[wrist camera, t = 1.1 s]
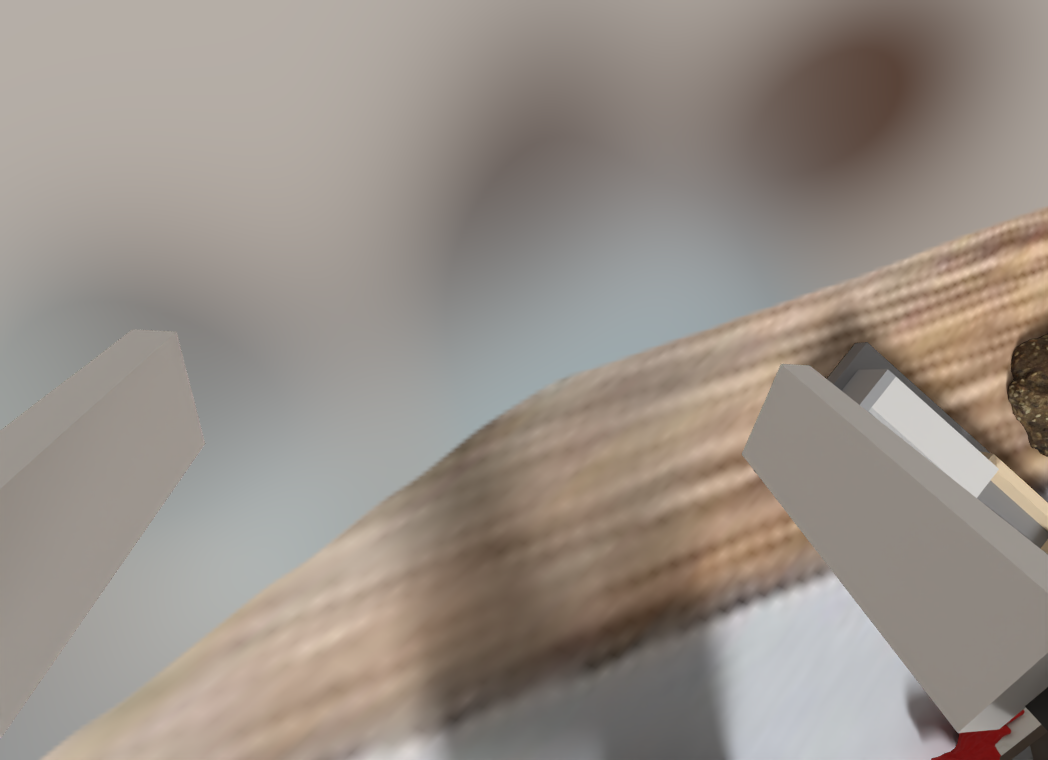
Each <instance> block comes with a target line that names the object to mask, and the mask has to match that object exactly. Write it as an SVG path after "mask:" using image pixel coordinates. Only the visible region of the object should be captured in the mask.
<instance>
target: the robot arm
mask: <svg viewBox="0 0 1048 760" xmlns="http://www.w3.org/2000/svg"><path fill="white" fill-rule="evenodd" d="M204 445H205V441H204V437H203V433H202V430H201V426H200V421H199V418H198V414H197V410H196V406H195V402H194V398H193V394H192V390H191V387H190V382H189V379H188V375H187V371H186V367H185V363H184V359H183V355H182V351H181V347H180V343H179V340H178V336H177V332H172V331H171V332H170V331H153V330H131V331H130V332H129V333H127V334H126V335H125V336H124V337H122V338H121V339H120V340H118V341H117V342H116V343H114V344H113V345H112V346H110V347H109V348H108V349H106V350H105V351H104V352H103V353H101V354H100V355H99V356H97V357H96V358H95V359H93V360H92V361H91V362H89V363H88V364H87V365H86V366H84V367H83V368H82V369H80V370H79V371H78V372H76V373H75V374H74V375H72V376H71V377H70V378H68V379H67V380H66V381H64V383H62V384H61V385H59V386H58V387H57V388H55V389H54V390H53V391H51V392H50V393H49V394H47V395H46V396H45V397H44V398H42V399H41V400H40V401H38V402H37V403H36V404H34V405H33V406H32V407H30V408H29V409H28V410H27V411H25V412H24V413H23V414H21V415H20V416H19V417H17V418H16V419H15V420H13V421H12V422H11V423H10V424H8V425H7V426H5V427H4V428H3V429H2V430H0V739H1V737H2V736H3V735H4V733H5V731H6V730H7V729H8V727H9V726H10V724H11V723H12V722H13V720H14V719H15V717H16V716H17V714H18V713H19V711H20V710H21V709H22V707H23V706H24V704H25V703H26V701H27V700H28V699H29V697H30V696H31V694H32V693H33V691H34V690H35V688H36V687H37V685H38V684H39V683H40V681H41V680H42V678H43V677H44V675H45V674H46V673H47V671H48V670H49V668H50V667H51V665H52V664H53V662H54V661H55V659H56V658H57V656H58V655H59V654H60V652H61V651H62V649H63V648H64V647H65V645H66V644H67V642H68V641H69V639H70V638H71V637H72V635H73V633H74V632H75V631H76V629H77V628H78V626H79V625H80V624H81V622H82V621H83V619H84V618H85V616H86V615H87V613H88V612H89V611H90V609H91V608H92V606H93V605H94V603H95V602H96V600H97V599H98V598H99V596H100V594H101V593H102V592H103V590H104V589H105V587H106V586H107V584H108V583H109V582H110V580H111V579H112V577H113V576H114V574H115V573H116V572H117V570H118V569H119V567H120V566H121V564H122V563H123V562H124V560H125V559H126V557H127V556H128V554H129V553H130V551H131V550H132V548H133V547H134V546H135V544H136V543H137V541H138V540H139V538H140V537H141V535H142V534H143V532H144V531H145V530H146V528H147V527H148V525H149V524H150V523H151V521H152V520H153V518H154V517H155V515H156V514H157V513H158V511H159V510H160V508H161V507H162V505H163V504H164V502H165V501H166V500H167V498H168V497H169V495H170V494H171V492H172V491H173V489H174V488H175V487H176V485H177V484H178V482H179V481H180V479H181V478H182V476H183V475H184V474H185V472H186V471H187V469H188V468H189V466H190V464H191V463H192V462H193V461H194V459H195V458H196V456H197V455H198V453H199V452H200V451H201V449H202V448H203V446H204ZM742 455H743V456H744V458H745V459H746V460H747V462H748V463H749V464H750V465H751V467H752V468H753V469H754V471H755V472H756V473H757V475H758V476H759V477H760V478H761V480H762V481H763V482H764V484H765V485H766V486H767V487H768V489H769V490H770V491H771V493H772V494H773V495H774V496H775V498H776V499H777V500H778V502H779V503H780V504H781V505H782V507H783V508H784V509H785V511H786V512H787V513H788V515H789V516H790V517H791V518H792V520H793V521H794V522H795V524H796V525H797V526H798V527H799V529H800V530H801V531H802V533H803V534H804V535H805V536H806V538H807V539H808V540H809V542H810V543H811V544H812V546H813V547H814V548H815V549H816V551H817V552H818V553H819V555H820V556H821V557H822V558H823V560H824V561H825V562H826V564H827V565H828V566H829V567H830V569H831V570H832V571H833V573H834V574H835V575H836V576H837V578H838V579H839V580H840V582H841V583H842V584H843V586H844V587H845V588H846V589H847V591H848V592H849V593H850V595H851V596H852V597H853V598H854V600H855V601H856V602H857V604H858V605H859V606H860V607H861V609H862V610H863V611H864V613H865V614H866V615H867V617H868V618H869V619H870V620H871V622H872V623H873V624H874V626H875V627H876V628H877V629H878V631H879V632H880V633H881V635H882V636H883V637H884V638H885V640H886V641H887V642H888V644H889V645H890V646H891V648H892V649H893V650H894V651H895V653H896V654H897V655H898V657H899V658H900V659H901V660H902V662H903V663H904V664H905V666H906V667H907V668H908V669H909V671H910V672H911V673H912V675H913V676H914V677H915V678H916V680H917V681H918V682H919V684H920V685H921V686H922V688H923V689H924V690H925V691H926V693H927V694H928V695H929V697H930V698H931V699H932V700H933V702H934V703H935V704H936V706H937V707H938V708H939V709H940V711H941V712H942V713H943V715H944V716H945V717H946V719H947V720H948V721H949V722H950V724H951V725H952V726H953V728H954V729H955V730H956V731H957V733H964V732H975V731H986V730H997V729H1000V728H1001V727H1003V726H1004V725H1005V724H1006V723H1007V722H1009V721H1010V720H1011V719H1012V718H1013V717H1015V716H1016V715H1017V714H1018V713H1019V712H1021V711H1022V710H1023V709H1024V708H1025V707H1026V708H1027V709H1028V710H1029V711H1030V713H1031V714H1032V715H1033V716H1034V717H1035V718H1036V719H1037V720H1038V721H1039V722H1040V723H1041V725H1040V726H1039V727H1037V728H1036V729H1035V730H1034V731H1032V732H1031V733H1030V734H1029V735H1027V736H1026V737H1025V738H1023V739H1022V740H1021V741H1020V742H1018V743H1017V744H1016V745H1015V746H1013V747H1012V748H1011V749H1010V750H1008V751H1007V752H1006V753H1004V754H1003V755H1002V756H1001V757H1000V760H1048V554H1047V553H1046V552H1045V551H1043V550H1041V549H1040V548H1039V547H1038V546H1037V545H1036V544H1035V543H1033V542H1032V541H1031V540H1029V539H1028V538H1027V537H1026V536H1024V535H1023V534H1022V533H1021V532H1019V531H1018V530H1016V529H1015V528H1014V527H1013V526H1012V525H1011V524H1009V523H1008V522H1007V521H1006V520H1004V519H1003V518H1002V517H1000V516H999V515H998V514H997V513H995V512H994V511H993V510H992V509H990V508H989V507H988V506H987V505H985V504H984V503H982V502H981V501H980V500H978V499H977V498H976V497H975V496H973V495H972V494H971V493H970V492H968V491H967V490H966V489H965V488H963V487H962V486H961V485H960V484H958V483H957V482H956V481H955V480H953V479H952V478H951V477H949V476H948V475H947V474H946V473H944V472H943V471H942V470H941V469H939V468H938V467H937V466H936V465H934V464H933V463H932V462H931V461H929V460H928V459H927V458H926V457H924V456H923V455H922V454H921V453H919V452H918V451H917V450H915V449H914V448H913V447H912V446H910V445H909V444H908V443H907V442H905V441H904V440H903V439H902V438H900V437H899V436H898V435H897V434H895V433H894V432H893V431H892V430H890V429H889V428H888V427H887V426H885V425H884V424H883V423H881V422H880V421H879V420H878V419H876V418H875V417H874V416H873V415H871V414H870V413H869V412H868V411H866V410H865V409H864V408H863V407H861V406H860V405H859V404H858V403H856V402H855V401H854V400H853V399H851V398H850V397H849V396H847V395H846V394H845V393H844V392H842V391H841V390H840V389H839V388H837V387H836V386H835V385H834V384H832V383H831V382H830V381H829V380H827V379H826V378H825V377H824V376H822V375H821V374H820V373H819V372H817V371H816V370H815V369H813V368H812V367H811V366H810V365H792V364H781V365H780V368H779V370H778V372H777V374H776V377H775V379H774V381H773V384H772V386H771V388H770V390H769V393H768V395H767V397H766V400H765V402H764V404H763V407H762V409H761V411H760V413H759V416H758V418H757V420H756V423H755V425H754V427H753V429H752V432H751V434H750V436H749V439H748V441H747V443H746V446H745V448H744V450H743V452H742Z"/></svg>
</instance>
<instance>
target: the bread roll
mask: <svg viewBox="0 0 1048 760" xmlns="http://www.w3.org/2000/svg"><path fill="white" fill-rule="evenodd" d="M1011 372H1012V375H1013V377H1014V379H1013V381H1012V383H1011V384H1010V386H1009V391H1008V396H1009V401H1010V403H1011V405H1012V410H1013V414H1014V415H1015V416H1016V418H1017V420H1019V421H1020V423H1021V424H1022V425H1023V426H1024V428H1025V430H1026V432H1027V433H1028V439H1029V443H1030V445H1031V447H1032V448H1035V449H1038V451H1039V452H1040V453H1041V454H1043V455H1044V456H1047V457H1048V334H1047V335H1044V336H1042V337H1041V338H1038V339H1031V340H1029V341H1027V342H1025V343H1023V344H1021V345H1020V346H1018V347H1017V349H1016V350H1015V352H1014V355H1013V358H1012V363H1011Z"/></svg>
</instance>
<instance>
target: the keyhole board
mask: <svg viewBox="0 0 1048 760" xmlns="http://www.w3.org/2000/svg"><path fill="white" fill-rule="evenodd" d="M827 380H829V381H830V382H831V383H832V384H834V385H835V386H836V387H837V388H839V389H840V390H841V391H842V392H844V393H845V394H846V395H847V396H849V397H850V398H851V399H853V400H854V401H855V402H856V403H858V404H859V405H860V406H861V407H863V408H864V409H865V410H866V411H868V412H869V413H870V414H871V415H873V416H874V417H875V418H876V419H878V420H879V421H880V422H881V423H883V424H884V425H885V426H887V427H888V428H889V429H890V430H892V431H893V432H894V433H895V434H897V435H898V436H899V437H900V438H902V439H903V440H904V441H905V442H907V443H908V444H909V445H910V446H912V447H913V448H914V449H915V450H917V451H918V452H919V453H921V454H922V455H923V456H924V457H926V458H927V459H928V460H929V461H931V462H932V463H933V464H934V465H936V466H937V467H938V468H939V469H941V470H942V471H943V472H944V473H946V474H947V475H948V476H949V477H951V478H952V479H953V480H955V481H956V482H957V483H958V484H960V485H961V486H962V487H963V488H965V489H966V490H967V491H968V492H970V493H971V494H972V495H973V496H975V497H976V498H977V499H978V500H980V501H981V502H982V503H984V504H985V505H987V506H988V507H989V508H990V509H992V510H993V511H994V512H995V513H997V514H998V515H999V516H1000V517H1002V518H1003V519H1004V520H1006V521H1007V522H1008V523H1009V524H1011V525H1012V526H1013V527H1014V528H1015V529H1016V530H1018V531H1019V532H1021V533H1022V534H1023V535H1024V536H1026V537H1027V538H1028V539H1029V540H1031V541H1032V542H1033V543H1035V544H1036V545H1037V546H1038V547H1039V548H1040V549H1041V550H1043V551H1045V552H1046V553H1047V554H1048V502H1046V501H1045V500H1044V499H1043V498H1042V497H1041V496H1040V495H1039V494H1038V493H1036V492H1035V491H1034V490H1033V489H1032V488H1031V487H1030V486H1029V485H1028V484H1026V483H1025V482H1024V481H1023V480H1022V479H1021V478H1020V477H1019V476H1018V475H1016V474H1015V473H1014V472H1013V471H1012V470H1011V469H1010V468H1009V467H1008V466H1006V465H1005V464H1004V463H1003V462H1002V461H1001V460H1000V459H999V458H998V457H996V456H995V455H994V454H993V453H990V452H989V451H987V450H986V449H985V448H984V447H983V446H982V445H981V444H980V443H979V442H977V441H976V440H975V439H974V438H973V437H972V436H971V435H970V434H969V433H967V432H966V431H965V430H964V429H963V428H962V427H961V426H960V425H959V424H957V423H956V422H955V421H954V420H953V419H952V418H951V417H950V416H949V415H947V414H946V413H945V412H944V411H943V410H942V409H941V408H940V407H939V406H937V405H936V404H935V403H934V402H933V401H932V400H931V399H930V398H929V397H927V396H926V395H925V394H924V393H923V392H922V391H921V390H920V389H919V388H917V387H916V386H915V385H914V384H913V383H912V382H911V381H910V380H909V379H907V378H906V377H905V376H904V375H903V374H902V373H901V372H900V371H899V370H897V369H896V368H895V367H894V366H893V365H892V364H891V363H890V362H888V361H887V360H886V359H885V358H884V357H883V356H882V355H881V354H880V353H878V352H877V351H876V350H875V349H874V348H873V347H872V346H871V345H870V344H868V343H867V342H865V343H855V344H854V345H853V347H852V348H851V349H850V350H849V352H848V353H847V354H846V355H845V357H844V358H843V359H842V360H841V362H840V363H839V364H838V365H837V367H836V368H835V369H834V370H833V372H832V373H831V374H830V375H829V377H828V378H827Z"/></svg>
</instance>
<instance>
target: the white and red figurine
mask: <svg viewBox="0 0 1048 760" xmlns="http://www.w3.org/2000/svg"><path fill="white" fill-rule="evenodd" d="M1040 725H1041V723H1040V722H1039V721H1038V720H1037V719H1036V718H1035V717H1034V716H1033V715H1032V714H1031V713H1030V711H1029V710H1028V709H1027V708H1026V707H1025V708H1024V709H1023V710H1022V711H1021V712H1019V713H1018V714H1017V715H1016V716H1015V717H1013V718H1012V719H1011V720H1010V721H1009V722H1007V723H1006V724H1005V725H1004V726H1003V727H1001V728H1000V729H997V730H986V731H975V732H964V733H959V738H958V743H957V745H956V747H955V748H954V749H953V750H952V751H951V752H947V753H945V754H943V755H941V756H939V757H936V758H932V759H931V760H1000V757H1001V756H1002V755H1003V754H1004V753H1006V752H1007V751H1008V750H1010V749H1011V748H1012V747H1013V746H1015V745H1016V744H1017V743H1018V742H1020V741H1021V740H1022V739H1023V738H1025V737H1026V736H1027V735H1029V734H1030V733H1031V732H1032V731H1034V730H1035V729H1036V728H1037V727H1039V726H1040Z"/></svg>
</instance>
